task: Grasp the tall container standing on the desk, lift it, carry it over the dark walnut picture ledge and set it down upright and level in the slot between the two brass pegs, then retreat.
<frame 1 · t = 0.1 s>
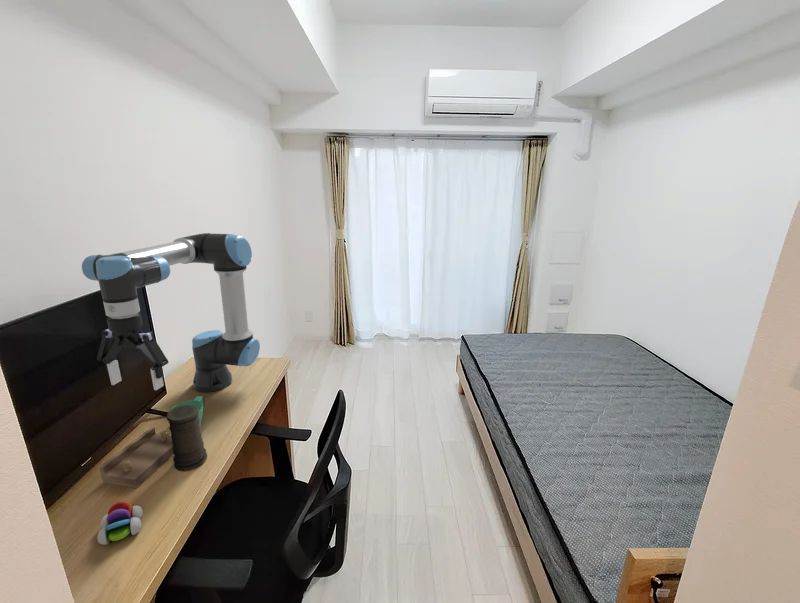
hand: (137, 385, 108), 28 cm above the table, fingers open, 13 cm apart
rainbow striped lobed toy: (122, 531, 95), on the table
container: (190, 462, 118), on the table
ledge: (146, 462, 117), on the table
mug: (194, 429, 134), on the table
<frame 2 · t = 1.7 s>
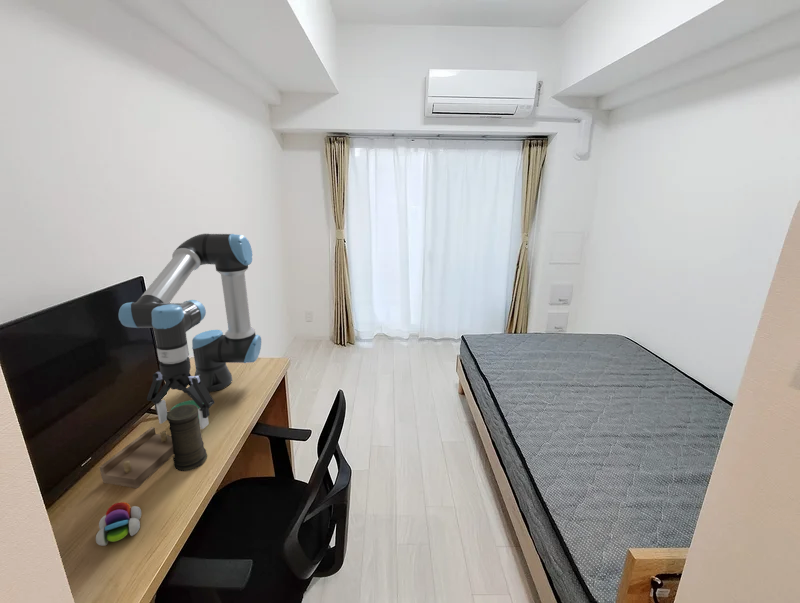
hand: (184, 423, 114), 14 cm above the table, fingers open, 13 cm apart
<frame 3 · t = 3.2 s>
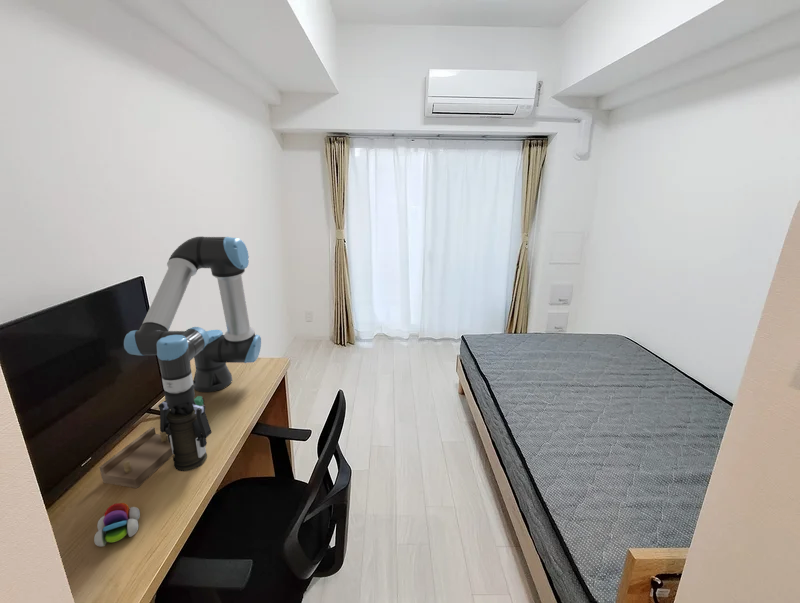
hand: (189, 452, 117), 3 cm above the table, fingers closed on container, 8 cm apart
container: (190, 462, 118), on the table, touching gripper
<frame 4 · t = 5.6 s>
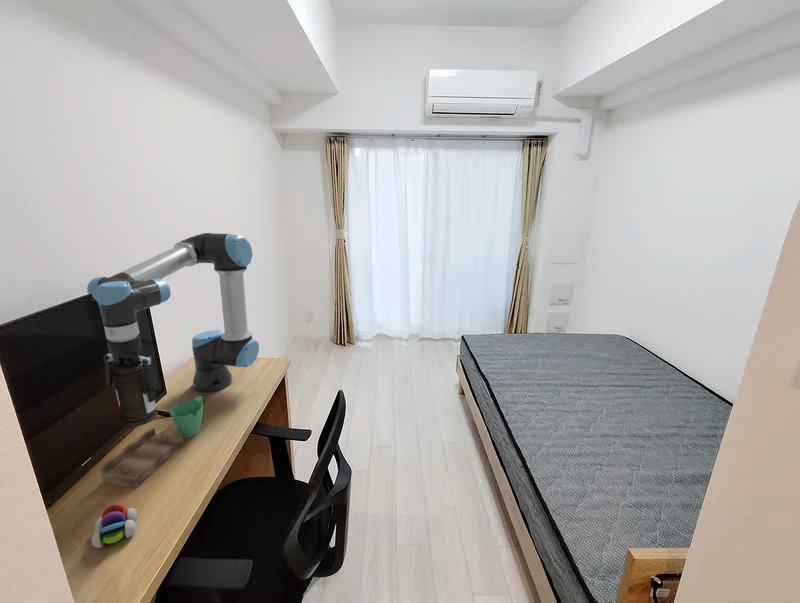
hand: (138, 408, 112), 19 cm above the table, fingers closed on container, 8 cm apart
container: (140, 419, 113), point 16 cm above the table, touching gripper
when the fingers open (8 cm above the table, at t = 8.4 s): container drops 2 cm, resting on ledge.
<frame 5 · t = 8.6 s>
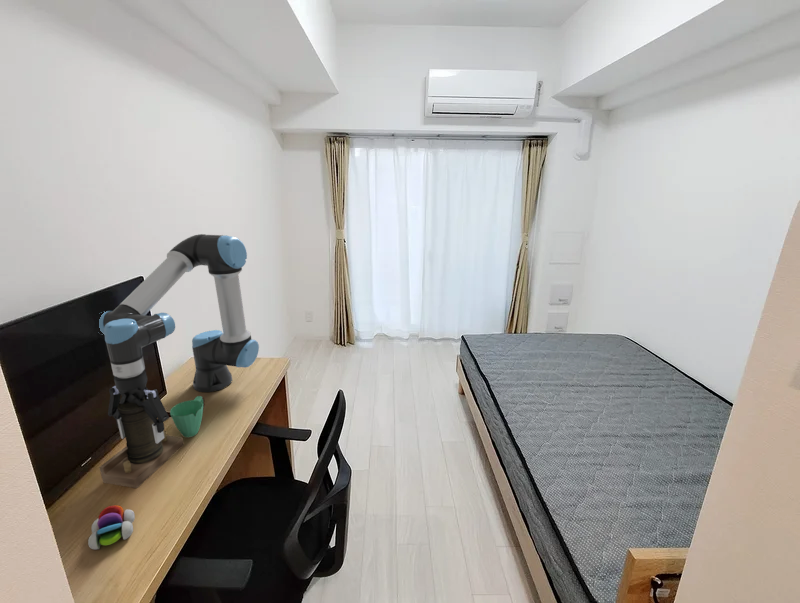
hand: (142, 438, 115), 9 cm above the table, fingers open, 11 cm apart
container: (146, 454, 116), point 3 cm above the table, touching ledge
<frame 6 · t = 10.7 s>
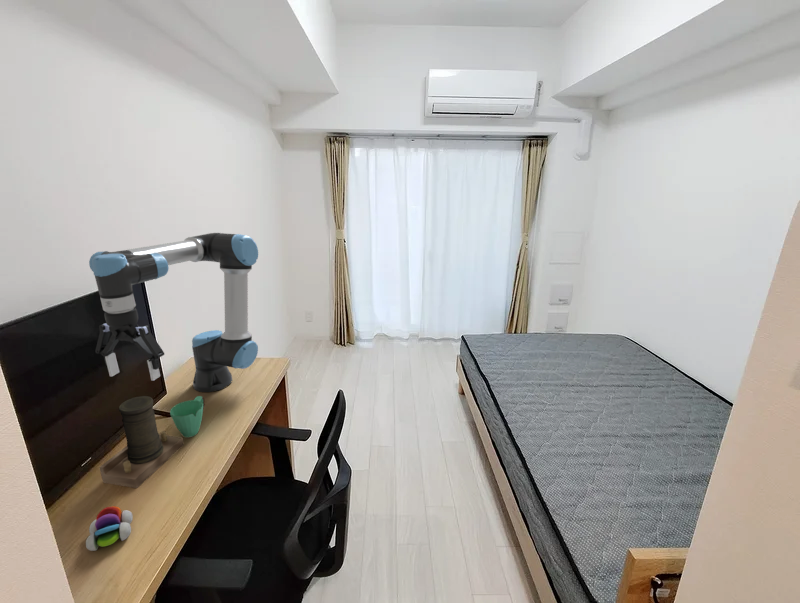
hand: (135, 376, 113), 27 cm above the table, fingers open, 13 cm apart
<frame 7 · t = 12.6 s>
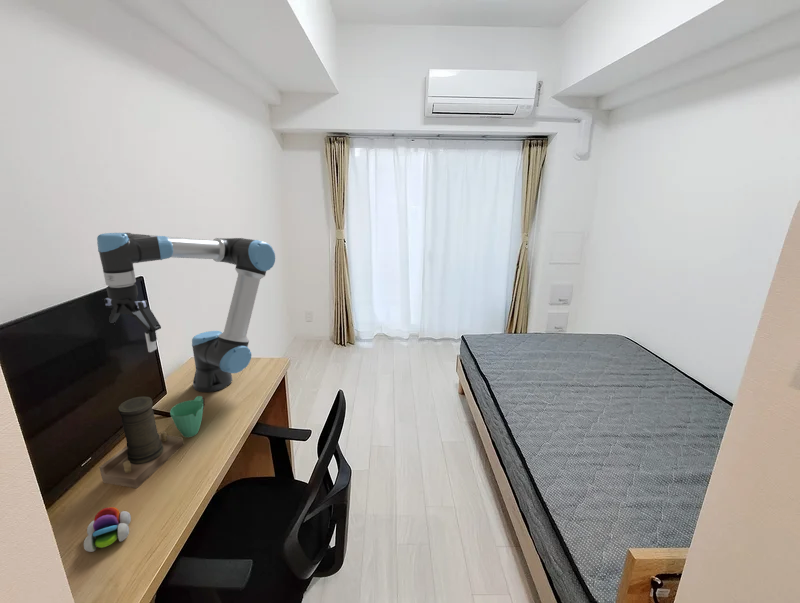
hand: (133, 348, 122), 32 cm above the table, fingers open, 13 cm apart
at the end: container inside the target area on the ledge (0.0 cm from its centre), point 2.8 cm above the ledge's base; container tilted 0°; the gripper is holding nothing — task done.
